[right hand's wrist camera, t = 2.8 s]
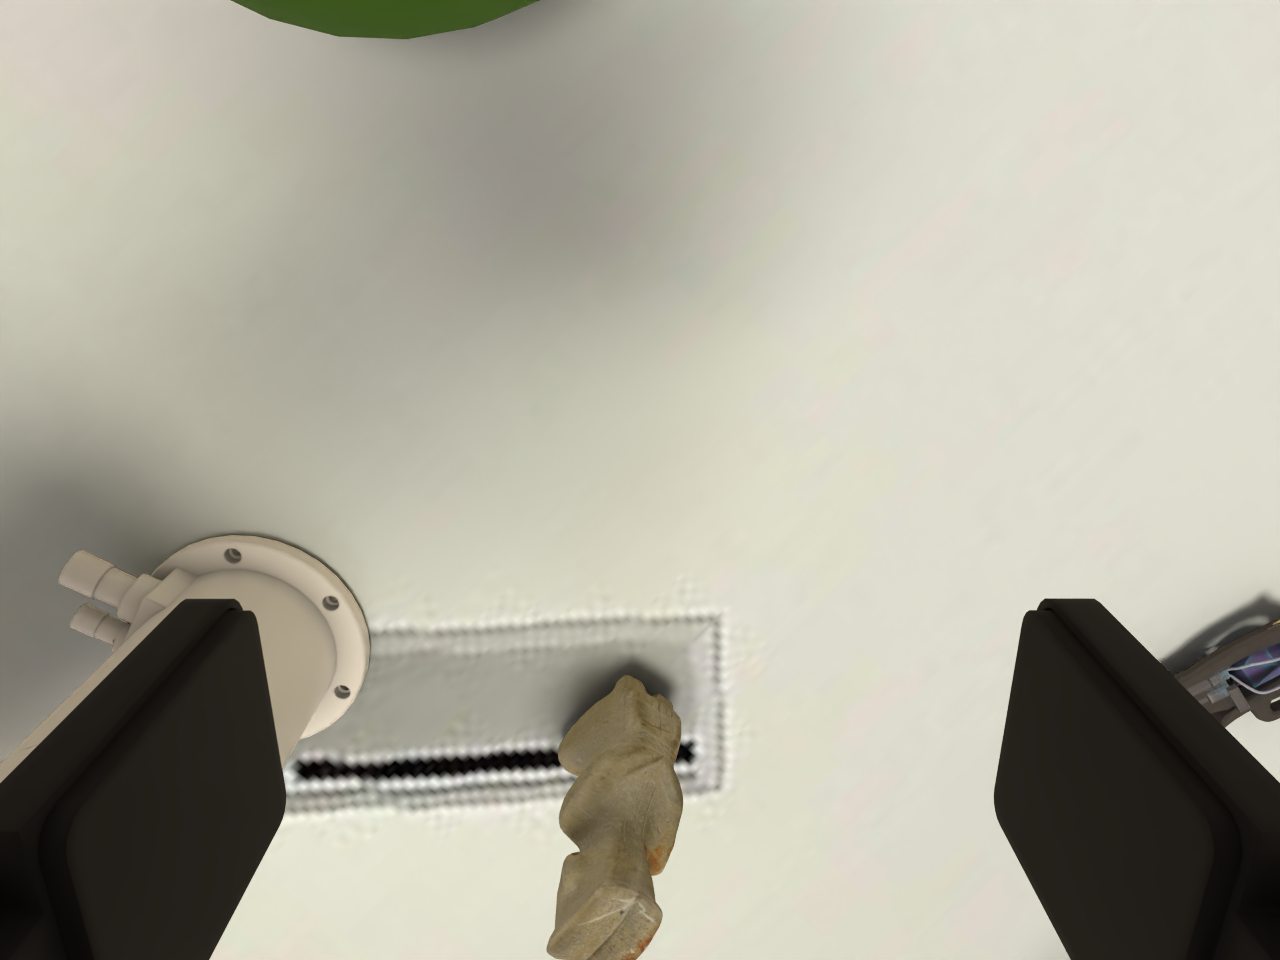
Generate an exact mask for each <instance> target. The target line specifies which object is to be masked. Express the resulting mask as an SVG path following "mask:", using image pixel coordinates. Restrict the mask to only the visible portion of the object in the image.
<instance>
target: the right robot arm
mask: <svg viewBox="0 0 1280 960" xmlns="http://www.w3.org/2000/svg"><path fill="white" fill-rule="evenodd" d="M237 550H238V551H239V552H238V551H237ZM58 583H59V584H61V585H63V586H66V587H68V588H70V589H72V590H74V591H76V592H79V593H81V594H83V595H85V596H87V597H89V598H92V599H95V598H96V599H98V600H100V601H102V602H105V603H107V604H109V605H111V606H113V607H115V608H118V610H117V614H116V615H117V617H118V618H120V619H123V620H125V621H127V622H128V623H124V622H122V621H120V620H118V619H116V618H113V617H111V616H110V615H109V614H108V613H106V612H104V611H101V610H99V609H97V608H95V607H93V606H91V605H88V604H86V603H85V604H83V605H82V606H81V607H80V608H79V609H78V610H77V612H76V613H75V614H74V616H73V618H72V620H71V622H70V625H69V627H71V628H73V629H75V630H77V631H79V632H82V633H84V634H86V635H88V636H90V637H93V638H95V637H96V638H98V639H100V640H102V641H105V642H107V643H109V644H111V645H113V646H112V652H114V653H113V654H112V655H111V656H110V657H109V658H108V659H107V660H106V661H105V662H104V663H103V664H102V665H101V666H100V667H99V668H98V669H97V670H96V671H95V672H94V673H93V674H92V675H91V676H90V677H89V678H88V679H86V680H85V681H84V682H83V683H82V684H81V685H80V686H79V687H78V688H77V689H76V690H75V691H74V692H73V693H72V694H71V695H70V696H69V697H68V698H67V699H66V700H65V701H64V702H63V703H62V704H61V705H60V706H59V707H58V708H57V709H56V710H55V711H54V712H53V713H52V714H51V715H50V716H48V717H47V718H46V719H45V720H44V721H43V722H42V723H41V724H40V725H39V726H38V727H37V728H36V729H35V730H34V731H33V732H32V733H31V734H30V735H29V736H28V737H27V738H26V739H25V740H24V741H23V742H22V743H21V744H20V745H19V746H18V747H17V748H16V749H15V750H14V751H13V752H11V753H10V754H9V755H8V756H7V757H6V758H5V759H4V760H3V761H2V762H1V763H0V960H209V959H210V957H211V955H212V953H213V951H214V949H215V947H216V946H217V944H218V942H219V940H220V938H221V936H222V934H223V932H224V930H225V928H226V927H227V925H228V923H229V921H230V919H231V917H232V915H233V913H234V911H235V909H236V908H237V906H238V904H239V902H240V900H241V898H242V896H243V894H244V892H245V890H246V889H247V887H248V885H249V883H250V881H251V879H252V877H253V875H254V873H255V871H256V870H257V868H258V866H259V864H260V862H261V860H262V858H263V856H264V854H265V852H266V851H267V849H268V847H269V845H270V843H271V841H272V839H273V837H274V835H275V833H276V832H277V830H278V828H279V826H280V824H281V821H282V819H283V815H284V812H285V805H286V789H285V783H284V777H283V771H282V769H283V767H284V766H285V764H286V762H287V760H288V759H289V757H290V755H291V753H292V752H293V750H294V748H295V746H296V745H297V743H298V741H299V740H300V739H303V738H306V737H310V736H312V735H314V734H316V733H318V732H320V731H322V730H324V729H325V728H327V727H329V726H330V725H331V724H333V723H334V722H335V721H336V720H337V719H339V718H340V717H341V716H342V715H343V714H344V713H345V712H346V710H347V709H348V708H349V707H350V705H351V704H352V703H353V702H354V700H355V698H356V696H357V694H358V692H359V690H360V689H361V687H362V685H363V682H364V679H365V676H366V673H367V670H368V666H369V657H370V643H369V635H368V629H367V626H366V623H365V620H364V617H363V614H362V611H361V609H360V608H359V606H358V604H357V602H356V601H355V599H354V597H353V595H352V594H351V592H350V591H349V590H348V589H347V588H346V586H345V585H344V584H343V583H342V582H341V580H340V579H339V578H338V577H337V576H336V575H335V574H334V573H333V572H331V571H330V570H329V569H328V568H327V567H325V566H324V565H323V564H322V563H321V562H320V561H318V560H316V559H314V558H313V557H311V556H309V555H308V554H306V553H304V552H303V551H301V550H299V549H297V548H294V547H292V546H289V545H287V544H284V543H281V542H279V541H275V540H271V539H266V538H262V537H257V536H243V535H228V536H221V537H213V538H208V539H205V540H202V541H199V542H196V543H193V544H190V545H188V546H186V547H185V548H183V549H181V550H180V551H178V552H176V553H174V554H173V555H171V556H170V557H169V558H168V559H167V560H166V561H164V562H163V563H162V564H161V565H160V566H158V567H157V568H156V569H155V571H154V572H153V573H152V574H151V575H150V576H149V575H147V574H145V573H144V574H142V575H141V576H139V577H138V578H136V577H134V576H132V575H130V574H128V573H126V572H123V571H121V570H119V569H117V568H116V566H115V565H113V564H111V563H109V562H107V561H105V560H102V559H100V558H98V557H96V556H94V555H92V554H90V553H88V552H85V551H83V550H79V551H77V552H76V553H75V554H73V556H72V557H71V558H70V559H69V560H68V561H67V563H66V564H65V566H64V567H63V569H62V571H61V573H60V575H59V577H58ZM332 596H333V597H335V598H336V599H335V598H333V597H332ZM994 805H995V812H996V815H997V819H998V821H999V824H1000V826H1001V828H1002V830H1003V832H1004V833H1005V835H1006V837H1007V839H1008V841H1009V843H1010V845H1011V847H1012V849H1013V851H1014V852H1015V854H1016V856H1017V858H1018V860H1019V862H1020V864H1021V866H1022V868H1023V870H1024V871H1025V873H1026V875H1027V877H1028V879H1029V881H1030V883H1031V885H1032V887H1033V889H1034V890H1035V892H1036V894H1037V896H1038V898H1039V900H1040V902H1041V904H1042V906H1043V908H1044V909H1045V911H1046V913H1047V915H1048V917H1049V919H1050V921H1051V923H1052V925H1053V927H1054V928H1055V930H1056V932H1057V934H1058V936H1059V938H1060V940H1061V942H1062V944H1063V946H1064V947H1065V949H1066V951H1067V953H1068V955H1069V957H1070V959H1071V960H1280V783H1279V782H1278V781H1277V780H1276V779H1275V778H1274V777H1273V776H1272V775H1271V774H1270V773H1269V772H1268V771H1267V770H1266V769H1265V768H1264V767H1263V766H1262V765H1261V764H1260V763H1259V762H1258V761H1257V760H1256V759H1255V758H1254V757H1253V756H1252V755H1251V754H1250V753H1249V752H1248V751H1247V750H1246V749H1245V748H1244V747H1243V746H1242V745H1241V744H1240V743H1239V742H1238V741H1237V740H1236V739H1235V738H1234V737H1233V736H1232V735H1231V734H1230V733H1229V732H1228V731H1227V730H1226V729H1225V728H1224V727H1223V726H1222V725H1221V724H1220V723H1219V722H1218V721H1217V720H1216V719H1215V718H1214V717H1213V716H1212V715H1211V714H1210V713H1209V712H1208V711H1207V710H1206V709H1205V708H1204V707H1203V706H1202V705H1201V704H1200V703H1199V702H1198V701H1197V700H1196V699H1195V698H1194V697H1193V696H1192V695H1191V694H1190V693H1189V691H1188V690H1187V689H1186V688H1185V687H1184V686H1183V685H1182V684H1181V683H1180V682H1179V681H1178V680H1177V679H1176V678H1175V677H1174V676H1173V675H1172V674H1171V673H1170V672H1169V671H1168V670H1167V669H1166V668H1165V667H1164V666H1163V665H1162V664H1161V663H1160V662H1159V661H1158V660H1157V659H1156V658H1155V657H1154V656H1153V655H1152V654H1151V653H1150V652H1149V651H1148V650H1147V649H1146V648H1145V647H1144V646H1143V645H1142V644H1141V643H1140V642H1139V641H1138V640H1137V639H1136V638H1135V637H1134V636H1133V635H1132V634H1131V633H1130V632H1129V631H1128V630H1127V629H1126V628H1125V627H1124V626H1123V625H1122V624H1121V623H1120V622H1119V621H1118V620H1117V619H1116V618H1115V617H1114V616H1113V615H1112V614H1111V613H1110V612H1109V611H1108V610H1107V609H1106V608H1105V607H1104V606H1103V605H1102V604H1101V603H1100V602H1098V601H1097V600H1095V599H1044V600H1043V601H1042V602H1041V603H1040V604H1039V606H1038V608H1037V610H1029V611H1028V612H1027V613H1026V614H1025V616H1024V618H1023V622H1022V627H1021V633H1020V639H1019V645H1018V651H1017V657H1016V663H1015V669H1014V675H1013V681H1012V687H1011V693H1010V699H1009V705H1008V711H1007V717H1006V723H1005V729H1004V735H1003V741H1002V747H1001V753H1000V759H999V765H998V771H997V777H996V783H995V789H994Z"/></svg>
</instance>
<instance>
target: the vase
mask: <svg viewBox="0 0 1280 960" xmlns="http://www.w3.org/2000/svg"><path fill="white" fill-rule="evenodd" d="M232 1H234V2H236V3H238V4H240V5H242V6H244V7H246V8H248V9H250V10H252V11H255V12H257V13H259V14H261V15H263V16H265V17H267V18H269V19H273V20H277V21H281V22H284V23H288V24H292V25H296V26H300V27H304V28H308V29H312V30H316V31H319V32H323V33H327V34H331V35H335V36H342V37H367V38H392V39H410V38H416V37H421V36H427V35H432V34H438V33H443V32H449V31H455V30H460V29H466V28H471V27H475V26H478V25H480V24H483V23H486V22H488V21H491V20H494V19H496V18H499V17H501V16H503V15H506V14H508V13H510V12H513V11H515V10H518V9H520V8H522V7H525V6H527V5H529V4H532V3H534V2H536V1H539V0H232Z"/></svg>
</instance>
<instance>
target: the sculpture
mask: <svg viewBox="0 0 1280 960" xmlns="http://www.w3.org/2000/svg"><path fill="white" fill-rule="evenodd" d="M680 740H681V720H680V718H679V716H678V715H677V714H676V713H675V712H674V711H673V706H672V704H671V702H670V701H668V700H667V699H666V698H665V697H663V696H662V695H660V694H654V695H652V696H651V695H649V694H648V693H647V692H646V689H645V687H644V685H643V683H642V682H641V681H639V680H637V679H635V678H633V677H631V676H629V675H624V676H623V677H621V678H620V679H619V680H618V681H617V683H616V685H615V688H614V690H613V691H612V692H611V693H610V694H609V695H607V696H606V697H604V698H603V699H601V700H599V701H598V702H596V703H595V704H594V705H593V706H592V707H591V708H590V709H589V710H588V711H587V712H585V713H584V714H583V716H582V717H581V718H580V719H579V720H578V721H577V722H576V723H575V724H574V725H573V726H572V727H571V729H570V730H569V731H568V732H567V734H566V736H565V737H564V739H563V740H562V742H561V744H560V746H559V751H558V757H559V761H560V763H561V765H562V766H563V767H564V769H565V770H567V771H568V772H570V773H572V774H574V775H576V776H579V777H578V778H577V780H576V781H575V782H574V784H573V785H572V787H571V788H570V790H569V791H568V793H567V794H566V796H565V798H564V801H563V804H562V807H561V810H560V814H559V824H560V828H561V829H562V831H563V832H564V833H565V834H566V835H567V836H568V837H569V838H570V839H571V840H572V841H573V842H574V843H575V844H576V845H577V846H578V848H579V849H580V852H575V853H572V854H570V855H568V856H567V857H566V859H565V860H564V863H563V867H562V873H561V879H560V884H559V888H558V893H557V906H556V918H555V930H554V931H553V933H552V935H551V937H550V939H549V942H548V945H547V953H548V954H549V955H551V956H553V957H554V958H556V959H562V960H636V959H637V958H638V957H639V956H640V955H641V954H642V953H643V951H644V950H645V949H646V948H647V946H648V945H649V943H650V942H651V940H652V938H653V936H654V935H655V933H656V931H657V930H658V928H659V926H660V923H661V920H662V911H661V909H660V907H659V906H658V904H657V903H656V902H655V894H654V887H653V881H652V877H651V876H655V875H658V874H660V873H661V872H662V871H663V869H664V867H665V865H666V863H667V861H668V858H669V856H670V853H671V851H672V849H673V847H674V843H675V838H676V833H677V830H678V826H679V822H680V818H681V814H682V809H683V795H682V791H681V787H680V783H679V780H678V778H677V776H676V773H675V771H674V768H673V766H674V762H675V760H676V757H677V753H678V750H679V746H680Z"/></svg>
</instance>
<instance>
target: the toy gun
mask: <svg viewBox="0 0 1280 960" xmlns="http://www.w3.org/2000/svg"><path fill="white" fill-rule="evenodd" d="M1174 677H1175V678H1176V679H1177V680H1178V681H1179V682H1180V683H1181V684H1182V685H1183V686H1184V687H1185V688H1186V689H1187V690H1188V691H1189V693H1190V694H1191V695H1192V696H1193V697H1194V698H1195V699H1196V700H1197V701H1198V702H1199V703H1200V704H1201V705H1202V706H1203V707H1204V708H1205V709H1206V710H1207V711H1208V712H1209V713H1210V714H1211V715H1212V716H1213V717H1214V718H1215V719H1216V720H1217V721H1218V722H1219V723H1220V724H1221V725H1222V726H1223V727H1224V728H1225V727H1226V726H1227V725H1229V724H1230V723H1231V722H1233V721H1234V720H1235V719H1237V718H1238V717H1240V716H1242V715H1243V714H1245V713H1247V712H1249V711H1251V712H1252V713H1253V714H1254V715H1255V717H1256V718H1258V719H1259V720H1262V721H1265V722H1270V721H1274V720H1276V719H1279V718H1280V700H1278V701H1275V702H1273V703H1271V700H1273V699H1275V698H1277V697H1279V696H1280V620H1277V621H1274V622H1271V623H1269V624H1266V625H1264V626H1262V627H1260V628H1258V629H1256V630H1254V631H1252V632H1250V633H1248V634H1246V635H1244V636H1242V637H1240V638H1238V639H1236V640H1234V641H1232V642H1230V643H1228V644H1226V645H1224V646H1222V647H1221V648H1219V649H1217V650H1215V651H1214V652H1212V653H1211V654H1209V655H1208V656H1206V657H1205V658H1203V659H1201V660H1200V661H1199V662H1197V663H1196V664H1194V665H1193V666H1191V667H1190V668H1188V669H1187V670H1185V671H1182V672H1180V673H1178V674H1176V675H1174ZM1233 681H1234V682H1237V683H1239V684H1241V685H1239V686H1237V685H1236V683H1235V684H1234V683H1233ZM1270 703H1271V704H1270Z"/></svg>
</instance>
